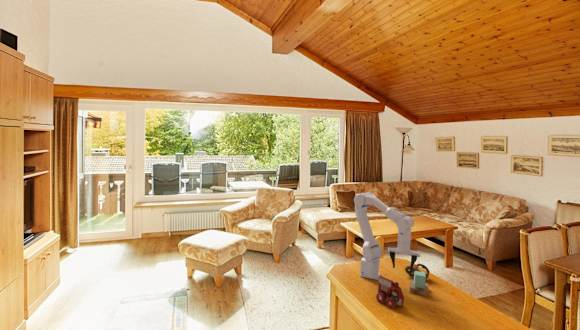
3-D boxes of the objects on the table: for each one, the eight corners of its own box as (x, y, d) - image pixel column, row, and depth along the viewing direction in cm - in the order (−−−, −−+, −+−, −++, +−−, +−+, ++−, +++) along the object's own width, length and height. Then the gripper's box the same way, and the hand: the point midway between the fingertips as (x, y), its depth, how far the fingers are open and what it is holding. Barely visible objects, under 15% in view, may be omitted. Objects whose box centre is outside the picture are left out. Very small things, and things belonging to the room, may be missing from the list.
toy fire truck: (397, 312, 129) (399, 288, 128) (373, 299, 138) (374, 277, 138) (406, 306, 133) (408, 283, 132) (381, 294, 143) (383, 273, 142)
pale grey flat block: (409, 293, 146) (409, 287, 146) (409, 285, 153) (410, 280, 153) (427, 297, 143) (428, 291, 143) (427, 289, 150) (427, 283, 150)
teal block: (414, 286, 146) (415, 274, 145) (413, 282, 150) (414, 270, 150) (424, 288, 145) (425, 276, 144) (423, 284, 149) (424, 272, 148)
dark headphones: (420, 273, 168) (427, 263, 164) (425, 288, 160) (433, 278, 156) (399, 268, 167) (407, 258, 163) (404, 282, 159) (412, 272, 155)
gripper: (387, 241, 146) (385, 269, 147) (420, 246, 141) (418, 275, 142) (388, 237, 153) (387, 263, 154) (420, 241, 147) (418, 269, 149)
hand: (402, 268), depth 148 cm, fingers open, 7 cm apart
